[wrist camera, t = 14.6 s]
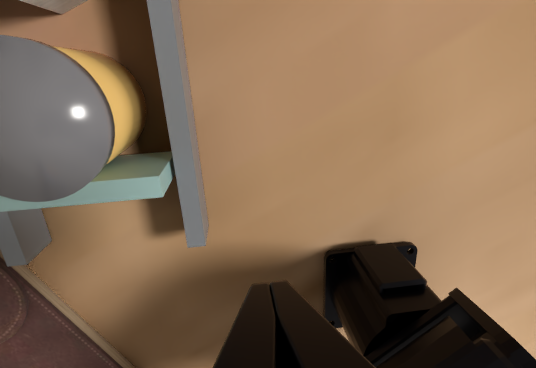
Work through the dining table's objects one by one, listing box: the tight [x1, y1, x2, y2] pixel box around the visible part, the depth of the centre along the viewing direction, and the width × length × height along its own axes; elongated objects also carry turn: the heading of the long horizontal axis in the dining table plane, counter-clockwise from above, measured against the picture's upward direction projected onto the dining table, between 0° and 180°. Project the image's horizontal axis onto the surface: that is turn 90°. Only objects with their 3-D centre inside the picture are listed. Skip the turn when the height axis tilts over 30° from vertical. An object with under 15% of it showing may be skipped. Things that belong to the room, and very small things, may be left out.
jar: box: [0, 35, 146, 202], centre depth 14 cm, size 6×6×6 cm
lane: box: [0, 0, 209, 267], centre depth 12 cm, size 21×10×8 cm, turn 3°
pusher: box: [0, 151, 175, 212], centre depth 16 cm, size 1×8×4 cm, turn 93°
